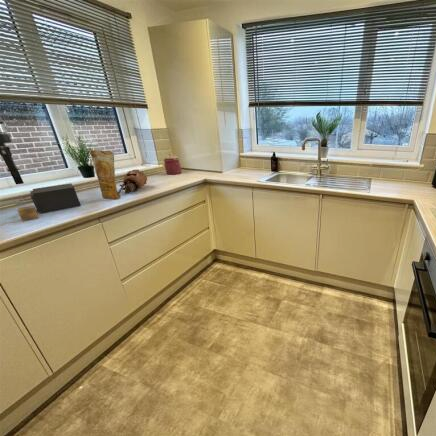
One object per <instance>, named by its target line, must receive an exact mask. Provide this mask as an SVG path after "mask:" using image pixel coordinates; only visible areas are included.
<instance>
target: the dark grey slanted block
mask: <svg viewBox="0 0 436 436" xmlns="http://www.w3.org/2000/svg"><path fill="white" fill-rule="evenodd" d="M32 191H33V195H34V197H35V199H36V201H37V204H38V206H39V208H40V210H41V212H40V213H41V214H47V213H53V212H57V211H63V210H67V209H72V208H77V207H81V206H82V204H81V202H80V200H79V197H78V194H77V192H76V189H75V187H74V185H73V184H72V183H71V182H70V183H65V184H57V185H50V186H43V187H36V188H32Z"/></svg>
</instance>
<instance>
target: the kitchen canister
mask: <svg viewBox="0 0 436 436" xmlns="http://www.w3.org/2000/svg"><path fill="white" fill-rule="evenodd" d="M162 162H164V164H163V165H164V169H165V174H166V175H168V176H171V175H173V176H174V175H180V174H182V166H181V162H180V159H179V157H178V156H177V155H175V154H174V155H173V153H171V152H169V153H168V155H165V156H164V157H163V161H162Z"/></svg>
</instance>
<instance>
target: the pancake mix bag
mask: <svg viewBox="0 0 436 436" xmlns="http://www.w3.org/2000/svg"><path fill="white" fill-rule="evenodd" d="M89 153H90V154H89V155H90V156H91V160H92V164H93V167H94V170H95V174H96V178H97V180H98V185H99V189H100V192H101V196H102V198H105V199H110V200H117V199H121V196H120V194H118V192H119V190H118V188H117V182H116V173H115V172H116V169H115V154H114V152H113V151H111V150H101V149H99V150H98V149H91V150H90V151H89Z"/></svg>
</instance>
